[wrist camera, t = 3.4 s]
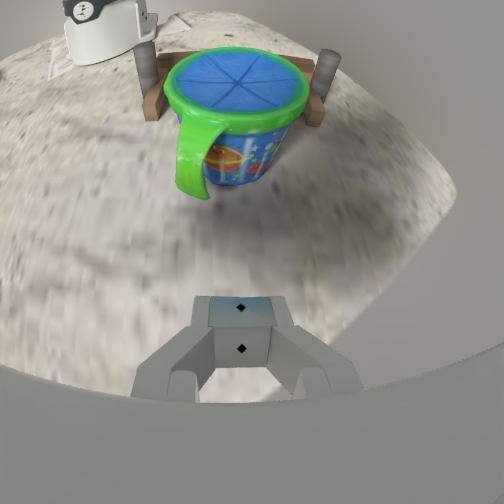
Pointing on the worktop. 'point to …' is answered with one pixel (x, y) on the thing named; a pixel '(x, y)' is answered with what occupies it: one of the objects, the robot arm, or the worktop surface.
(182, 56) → the cradle
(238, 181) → the snack cup
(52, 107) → the worktop surface
